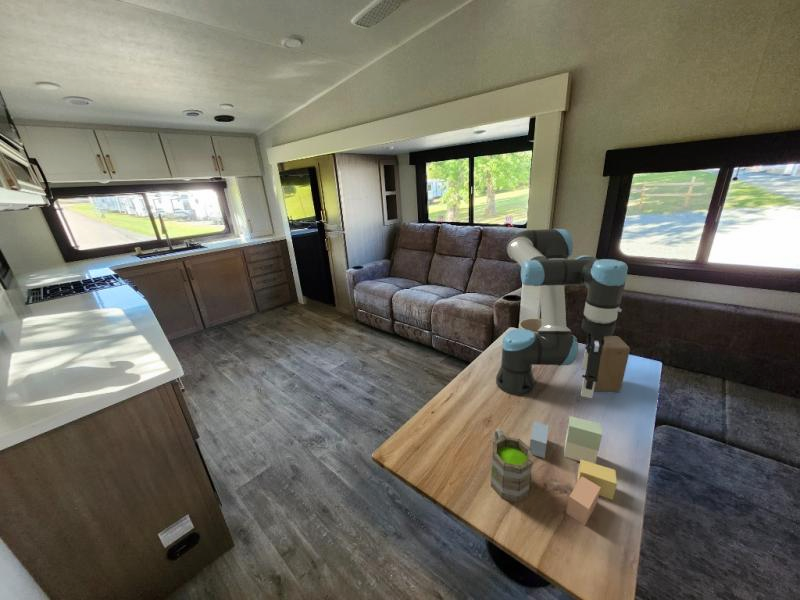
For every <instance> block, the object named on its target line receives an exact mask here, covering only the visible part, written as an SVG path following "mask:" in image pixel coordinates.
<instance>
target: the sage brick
mask: <svg viewBox="0 0 800 600" xmlns="http://www.w3.org/2000/svg"><path fill="white" fill-rule="evenodd" d="M568 420H569V421H568V424H567V425H568V426H567V430H566V435H567V442H570V443H573V444H576V445H580V446H583V447H587V448H590V449H593V450H597V451H598V452H599V451H600V446H601V442H602V436H603V431H602V424H601V423H599V422H593V421H590V420H587V419H583V418H579V417H575V416H571V415H570V416H569V419H568Z"/></svg>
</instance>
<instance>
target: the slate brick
mask: <svg viewBox="0 0 800 600" xmlns="http://www.w3.org/2000/svg"><path fill="white" fill-rule="evenodd" d="M548 435H549V425H548V424H544V423H541V422H538V421H533V424H532V429H531V434H530V441H529V447H530V448H531V449H532V456H536V457H539V458H542V459H545V458H546V450H547V445H548V444H547V443H548Z"/></svg>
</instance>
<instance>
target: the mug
mask: <svg viewBox="0 0 800 600" xmlns="http://www.w3.org/2000/svg"><path fill="white" fill-rule="evenodd" d="M533 459H534V458H533V455H532V449H531V448H530V446H528V445H527V444H526V443H525V442H524V441H523V440H521V438H516V437H510V436H506V435H505V433H504V431H503V430H502V429H501V428H496V429H495V431H494V441H493V442H492V457H491V474H490V487H491V488H492V489H493V490H494V492H496V494H497V495H498V496H499V498H500V499H503V500H507V501H511V502H515V503H520V502H521V501H523V500H524V499H525V498H527V497H528V496H530V483H531V479H532V477H531V476H532V467H533V462H534V460H533Z"/></svg>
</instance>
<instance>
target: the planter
mask: <svg viewBox="0 0 800 600" xmlns="http://www.w3.org/2000/svg"><path fill="white" fill-rule="evenodd" d="M541 326H542V318H533V317H531V318H525V319H522V320H520V322H519V324H518V329H526V330H530V331H532V332H533V333H534V334H535V335H538V330H539V329H540V328H541Z"/></svg>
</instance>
